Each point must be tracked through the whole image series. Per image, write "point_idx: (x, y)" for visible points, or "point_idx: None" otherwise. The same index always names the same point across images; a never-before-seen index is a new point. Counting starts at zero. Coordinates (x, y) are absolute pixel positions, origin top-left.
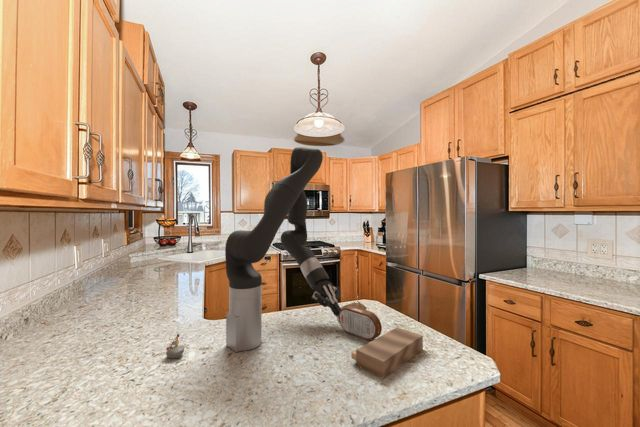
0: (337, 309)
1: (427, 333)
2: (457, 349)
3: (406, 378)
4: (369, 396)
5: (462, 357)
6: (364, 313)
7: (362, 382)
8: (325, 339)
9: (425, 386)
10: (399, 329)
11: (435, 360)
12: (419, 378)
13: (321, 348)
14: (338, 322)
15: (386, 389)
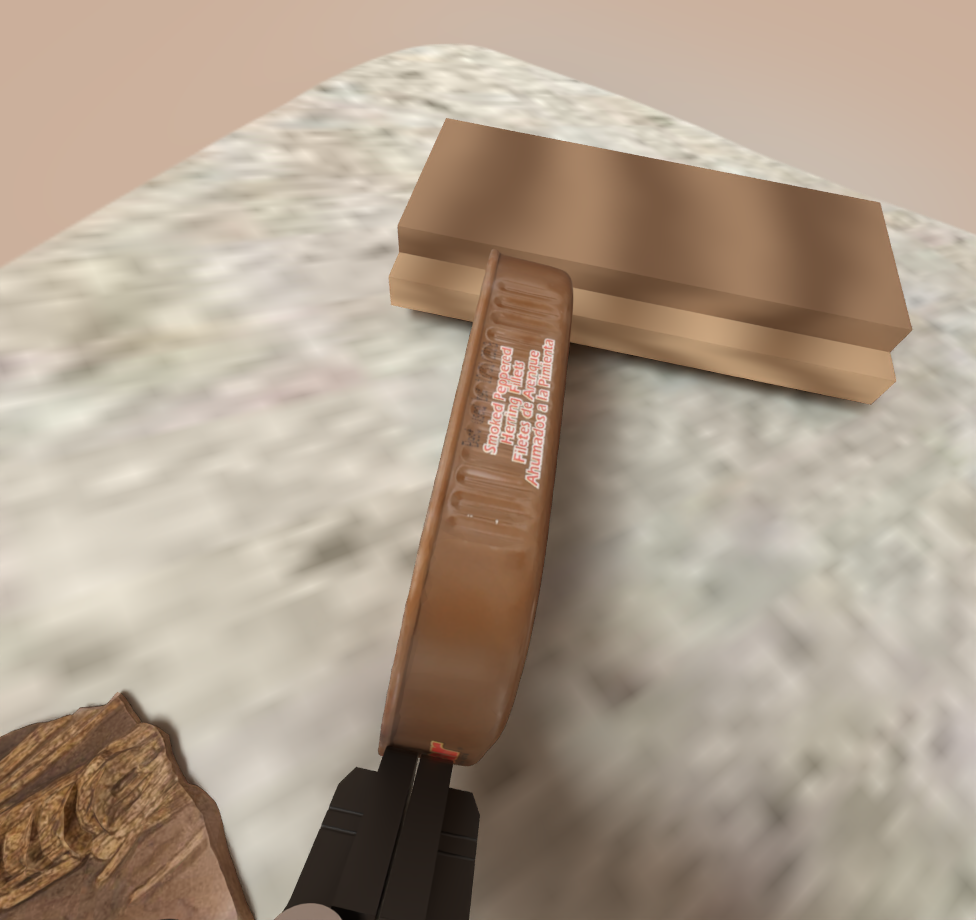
0: (439, 811)
1: (201, 197)
2: (352, 104)
3: None
4: (966, 285)
5: (424, 94)
6: (560, 317)
7: (925, 328)
8: (745, 764)
9: (738, 167)
10: (433, 209)
11: None
12: None
13: (891, 691)
14: (250, 915)
15: None
